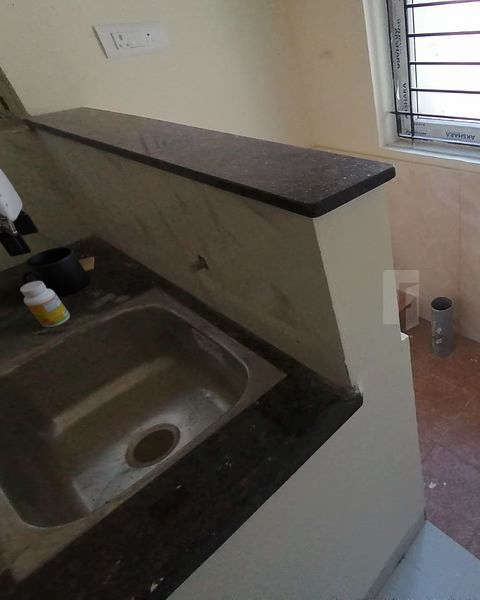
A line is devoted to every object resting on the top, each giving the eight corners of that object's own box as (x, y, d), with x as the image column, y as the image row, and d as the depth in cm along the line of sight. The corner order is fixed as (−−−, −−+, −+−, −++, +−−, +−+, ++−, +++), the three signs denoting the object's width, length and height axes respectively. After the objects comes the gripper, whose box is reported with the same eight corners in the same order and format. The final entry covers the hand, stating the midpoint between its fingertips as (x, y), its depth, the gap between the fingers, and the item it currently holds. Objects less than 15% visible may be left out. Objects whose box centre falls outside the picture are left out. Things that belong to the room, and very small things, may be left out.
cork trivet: (63, 277, 104) (61, 275, 103) (65, 265, 108) (64, 263, 108) (93, 269, 106) (92, 267, 106) (94, 258, 111) (93, 256, 111)
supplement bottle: (36, 324, 88) (9, 290, 82) (61, 310, 92) (36, 276, 86) (51, 330, 86) (25, 295, 80) (75, 316, 90) (52, 281, 84)
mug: (34, 288, 99) (12, 258, 94) (89, 272, 105) (71, 243, 100) (34, 306, 93) (10, 275, 88) (92, 288, 99) (73, 257, 94)
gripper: (-47, 147, 71) (10, 231, 82) (-80, 174, 59) (-8, 268, 70) (4, 141, 74) (53, 222, 85) (-17, 166, 62) (43, 257, 73)
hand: (25, 243), depth 77 cm, fingers open, 9 cm apart
